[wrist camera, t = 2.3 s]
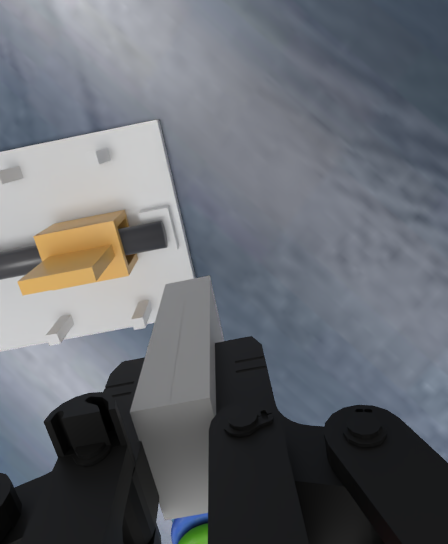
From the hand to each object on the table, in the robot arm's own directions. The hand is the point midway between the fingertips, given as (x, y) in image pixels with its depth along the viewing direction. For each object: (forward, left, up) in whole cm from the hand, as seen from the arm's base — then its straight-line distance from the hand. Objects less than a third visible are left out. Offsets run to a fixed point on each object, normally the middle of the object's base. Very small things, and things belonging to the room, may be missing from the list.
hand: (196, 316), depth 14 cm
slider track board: (+15, 0, -17) cm, 23 cm away
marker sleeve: (+8, 0, -16) cm, 17 cm away
